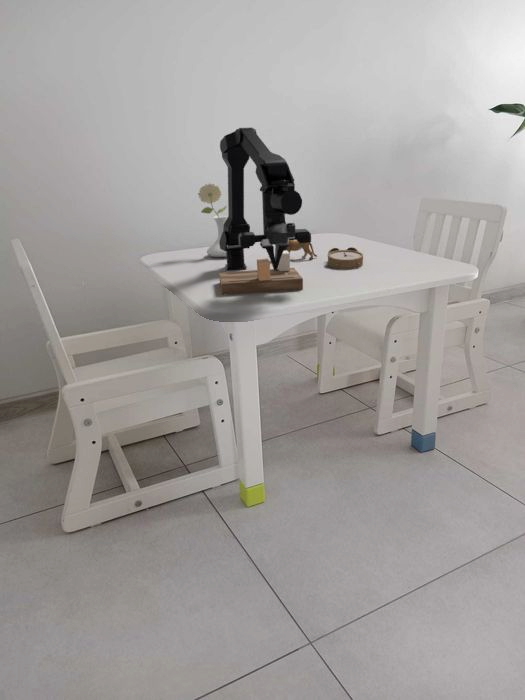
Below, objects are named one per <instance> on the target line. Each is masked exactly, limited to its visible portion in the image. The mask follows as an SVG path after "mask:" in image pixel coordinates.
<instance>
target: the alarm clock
mask: <svg viewBox="0 0 525 700" xmlns="http://www.w3.org/2000/svg"><path fill="white" fill-rule="evenodd" d="M363 262H364V253H363V252H360V251H359V250H358V249H357V248H356V247H348V248H347V249H340V248H337V247H333V248H331V249H329V250H328V253H327V266H328V267H330V268H333V269H339V268H340V269H342V270H348V269H349V270H350V269H357V268H361V267H363V266H364V265H363V264H364V263H363Z"/></svg>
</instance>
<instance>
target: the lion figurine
mask: <svg viewBox="0 0 525 700" xmlns="http://www.w3.org/2000/svg"><path fill="white" fill-rule="evenodd" d="M288 244H289V245H290V246H289V247H286V248H285V250H284V251H288V252H289V253H290V254H291V252H297V251H300V250H302V249H303V252H304V254H303V255H302V256H301V258H302V259H305V258H306V257H307V256H308V255H309V256H310V257H309V258H308V259H309V260H311V261H312V260H313V259H314V257H315V258H317V257H318V255H317V254H315V252H314V248H313V245H312V241H311V242H310V243H299V242H298V241H297V240H289V242H288ZM274 245H276V244H274Z"/></svg>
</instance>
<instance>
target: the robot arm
mask: <svg viewBox="0 0 525 700" xmlns="http://www.w3.org/2000/svg"><path fill="white" fill-rule="evenodd" d="M219 149H220V153H221V159H222V160H223V162H224V163H225V165H226V167H227V199H228V201H227V203H228V204H227V206H228V207H227V208H228V216H227V218H226V220H225V223H224V225H223V232H222V235H221V238H220V241H219V245H220V249H221V250H223V251H226V264H224V265H225V269H226V271H233V270H234V271H235V270H237V271H238V270H246V269H247V265H246V263H245V250H244V249H250V247H254V245H255V244H256V243H259V245H260V247H261V248H262V249H265V250H266V252H267V254H268V257H269V261H270V264H271V265H272V269H274V270H277V269H278V265H279V262H280V258H281V256H282V253H283V251H284V250H285V248H286V247H289V246H290V245H289V244H288V242H289V240H297V241H298V242H299V243H310V242H311V243H312V235H311V234H312V233H311V232H310V231H309V230H308V229H307V228H300V229H299V228H297V229H296V224H295V222H288V223H287V222H286V215H290V216H294V215H295V214H297V213H298V212H299V211H300V210H301V208H302V205H303V199H302V196H301V194H300V193H299V192H298V191H296V190H295V185H296V184H295V178H294V176H293V174H292V171H291V169H290V166H289V164H288V163H287V160H286V159H285V158H284V157H282V156H281V155H279V154H277V153H275V152H272V151H271V150H270V149H269V148H268V147H267V146H266V144H265V143H264V142H263V140H262V139H261V138H260V137H259V135H258V134H257V129H255V128H254V127H239V128H236V130H234V131H232V132H230V133H228V134H225V135H224V136H223V138H222V139H221V140H220V142H219ZM250 159H251V160H252V162H253V163H254V164H255V174H256V176H257V179H258V181H259V183H260V184H261V186H260V188H259V191H260V192H262V193H261V195H262V196H261V197H262V201H261V202H262V225H263V226H262V227H263V234H255V233H254V231H251V226H250V224H249V223H248V222H247V220H246V219H245V191H244V190H245V173H244V172H245V167H246V165H247V163H248V162H249V160H250ZM275 244H276V245H275ZM227 245H228V246H227ZM274 245H275V246H274ZM274 247H275V248H274Z"/></svg>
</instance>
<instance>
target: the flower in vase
mask: <svg viewBox="0 0 525 700" xmlns="http://www.w3.org/2000/svg"><path fill="white" fill-rule="evenodd" d="M197 194H198V195H197V196H198V197H199V198H198V199H200V202H203V203H207V204H210V205H211V207H209V206H206V207H204V208H203V209H202V210H201V213H203V214H211V213H212V212H213V211H214V213H215V216H213V217H212V218H213V219H214V221H215V223H216V225H217V227H216V228H217V239H216V240H215V241H214V242H213V243H212V244H211V245H210V246H208V248H207V250H206V254H207V255H208V256H211V257H215V258H225V257H226V251H223V250H221V249H220V245H219V241H220V238H221V235H222V232H223V225H224V223H225V221H226V220H227V218H228V216H227V215H219V214H220V213H222V212H224V211H226V209H227V208H228V207H227V206H228V205H225V206H224V207H222V208H219V209H218V210H217V211H216V210H215V209H214V206H213V203H216V202H218V201H219V200H220V198H221V196H222V191H221V189H220V187H219V185H215V184H214V183H208V184H207V183H206V184H204V185H203V186H201V187H200V188H199V192H198V193H197ZM227 246H228V245H227Z"/></svg>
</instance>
